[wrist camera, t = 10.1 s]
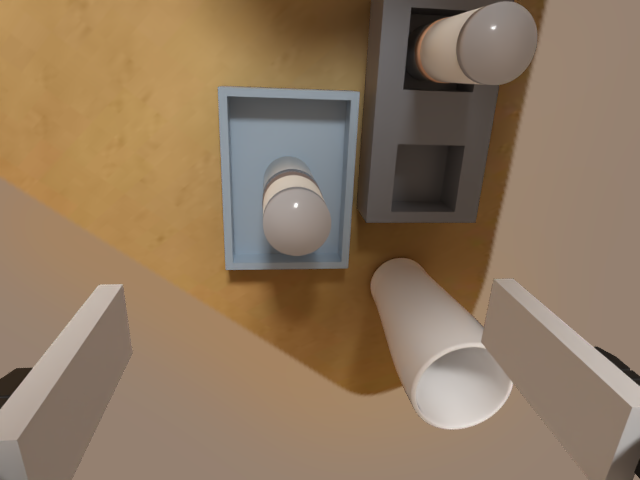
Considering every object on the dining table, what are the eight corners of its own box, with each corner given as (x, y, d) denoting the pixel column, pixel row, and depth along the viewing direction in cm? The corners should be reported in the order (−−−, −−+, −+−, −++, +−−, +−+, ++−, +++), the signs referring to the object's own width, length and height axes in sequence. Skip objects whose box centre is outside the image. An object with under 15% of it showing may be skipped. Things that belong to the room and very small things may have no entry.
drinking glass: (374, 323, 42) (427, 446, 28) (351, 265, 40) (396, 368, 26) (440, 297, 42) (525, 408, 28) (420, 236, 39) (503, 326, 26)
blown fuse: (262, 155, 35) (261, 189, 24) (313, 156, 35) (333, 190, 25) (263, 204, 36) (262, 257, 26) (312, 205, 37) (330, 256, 26)
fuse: (405, 21, 32) (469, -3, 22) (458, 24, 32) (546, 2, 22) (399, 81, 33) (457, 84, 23) (450, 83, 34) (529, 87, 24)
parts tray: (221, 85, 33) (217, 86, 31) (353, 90, 34) (359, 92, 32) (228, 258, 38) (225, 269, 36) (343, 256, 39) (348, 268, 37)
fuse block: (371, -1, 32) (384, -10, 28) (486, 6, 33) (514, -2, 29) (356, 207, 38) (366, 222, 34) (455, 208, 39) (475, 222, 35)
